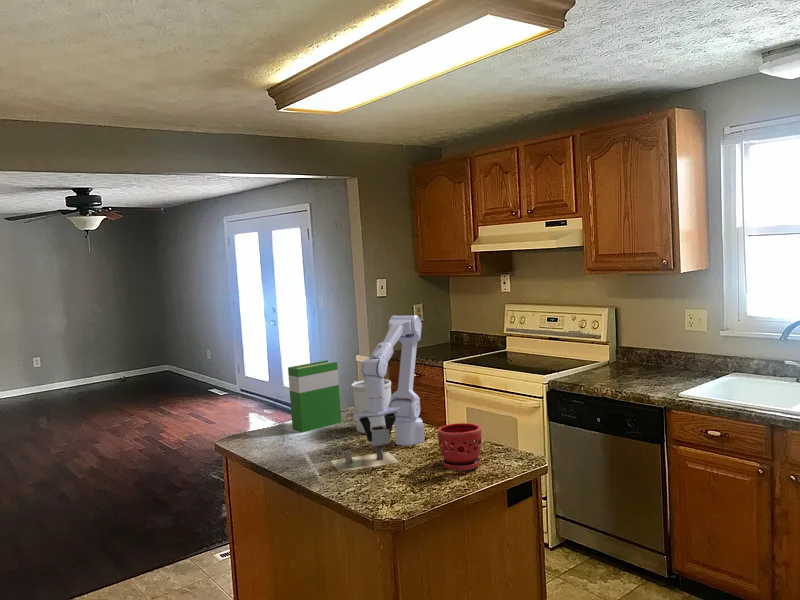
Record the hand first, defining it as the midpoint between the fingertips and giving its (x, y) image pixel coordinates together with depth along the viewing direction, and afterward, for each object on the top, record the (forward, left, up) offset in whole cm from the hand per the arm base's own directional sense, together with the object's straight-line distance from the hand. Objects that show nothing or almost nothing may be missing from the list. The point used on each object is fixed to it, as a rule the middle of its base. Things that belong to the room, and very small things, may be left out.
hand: (378, 439), depth 209 cm
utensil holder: (-9, -39, -8) cm, 41 cm away
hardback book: (+10, -55, -8) cm, 56 cm away
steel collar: (0, 0, -1) cm, 1 cm away
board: (+5, 0, -7) cm, 9 cm away
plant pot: (-21, +15, -8) cm, 27 cm away
